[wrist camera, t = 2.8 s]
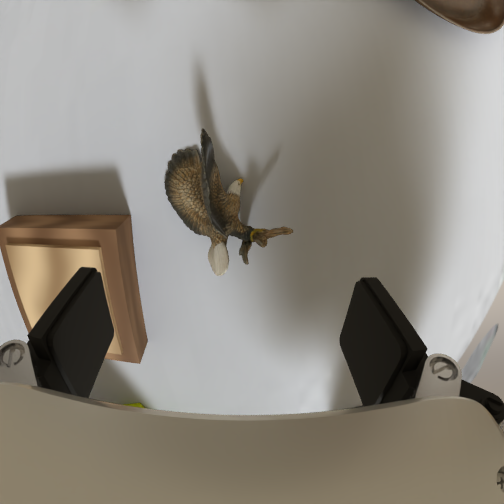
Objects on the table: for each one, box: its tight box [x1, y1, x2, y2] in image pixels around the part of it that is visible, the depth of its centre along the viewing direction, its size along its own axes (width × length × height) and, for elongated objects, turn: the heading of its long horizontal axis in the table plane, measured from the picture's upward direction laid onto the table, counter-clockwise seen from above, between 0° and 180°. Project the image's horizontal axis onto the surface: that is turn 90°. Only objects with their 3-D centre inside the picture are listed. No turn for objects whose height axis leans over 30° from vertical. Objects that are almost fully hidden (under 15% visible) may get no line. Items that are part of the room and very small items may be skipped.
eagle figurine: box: [164, 129, 293, 276], centre depth 21 cm, size 8×7×9 cm
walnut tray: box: [0, 215, 148, 364], centre depth 24 cm, size 14×14×4 cm
